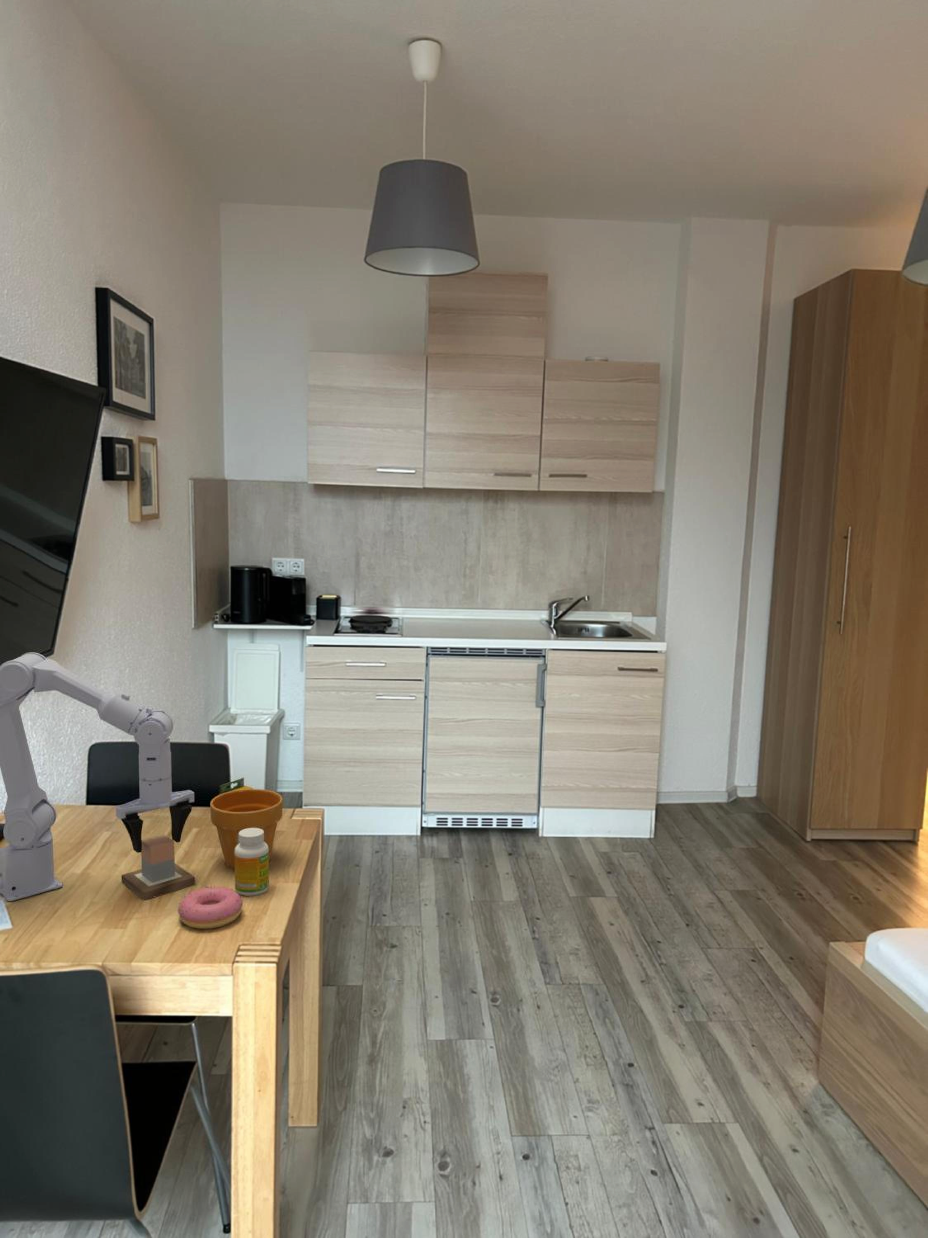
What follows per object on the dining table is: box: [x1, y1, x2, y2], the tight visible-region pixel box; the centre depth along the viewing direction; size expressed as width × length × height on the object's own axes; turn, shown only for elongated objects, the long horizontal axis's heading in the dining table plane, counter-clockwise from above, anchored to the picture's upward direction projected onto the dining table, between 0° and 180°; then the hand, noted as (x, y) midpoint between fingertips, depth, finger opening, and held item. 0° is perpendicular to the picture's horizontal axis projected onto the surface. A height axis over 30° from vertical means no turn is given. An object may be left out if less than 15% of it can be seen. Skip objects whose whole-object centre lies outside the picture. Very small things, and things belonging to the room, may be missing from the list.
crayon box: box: [219, 777, 254, 795], centre depth 190 cm, size 7×3×12 cm, turn 148°
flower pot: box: [209, 788, 284, 870], centre depth 175 cm, size 14×14×13 cm
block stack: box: [140, 834, 176, 883], centre depth 164 cm, size 4×4×7 cm
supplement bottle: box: [234, 828, 270, 897], centre depth 162 cm, size 6×6×11 cm
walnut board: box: [121, 863, 196, 901], centre depth 165 cm, size 10×10×2 cm
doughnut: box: [177, 885, 244, 930], centre depth 152 cm, size 11×11×4 cm
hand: (157, 845), depth 164 cm, fingers open, 7 cm apart
